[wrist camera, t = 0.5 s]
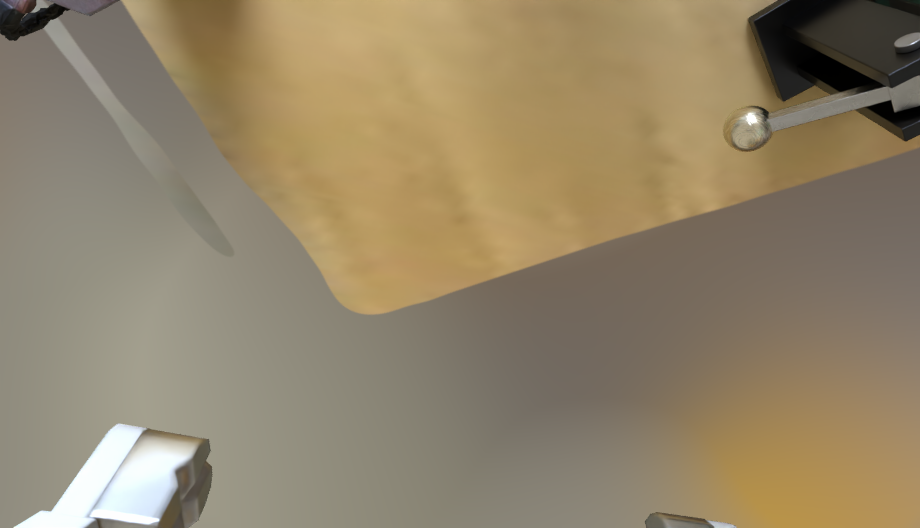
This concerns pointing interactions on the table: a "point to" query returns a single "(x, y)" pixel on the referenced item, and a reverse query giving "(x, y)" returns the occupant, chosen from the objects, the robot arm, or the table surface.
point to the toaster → (902, 5)
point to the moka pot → (41, 14)
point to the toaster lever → (813, 112)
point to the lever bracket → (841, 52)
